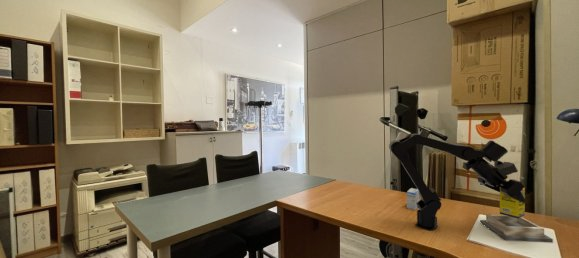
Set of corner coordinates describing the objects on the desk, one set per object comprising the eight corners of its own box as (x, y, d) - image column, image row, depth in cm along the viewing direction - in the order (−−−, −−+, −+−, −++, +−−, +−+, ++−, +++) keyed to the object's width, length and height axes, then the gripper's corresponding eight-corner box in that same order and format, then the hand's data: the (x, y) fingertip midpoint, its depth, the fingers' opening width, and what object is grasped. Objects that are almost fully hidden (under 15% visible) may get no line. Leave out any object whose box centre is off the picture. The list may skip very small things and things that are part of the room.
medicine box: (410, 204, 128) (410, 187, 128) (419, 205, 125) (419, 189, 125) (406, 208, 122) (406, 191, 122) (416, 210, 119) (416, 193, 119)
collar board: (504, 240, 88) (504, 228, 88) (480, 222, 103) (479, 213, 103) (552, 242, 85) (552, 230, 85) (520, 224, 100) (520, 214, 100)
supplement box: (519, 219, 90) (519, 190, 90) (499, 213, 95) (499, 186, 95) (525, 215, 93) (525, 187, 93) (505, 210, 98) (505, 184, 98)
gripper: (519, 159, 85) (555, 191, 83) (485, 152, 103) (515, 178, 102) (493, 181, 87) (528, 212, 85) (465, 170, 105) (493, 195, 103)
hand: (516, 198), depth 94 cm, fingers closed on supplement box, 8 cm apart
